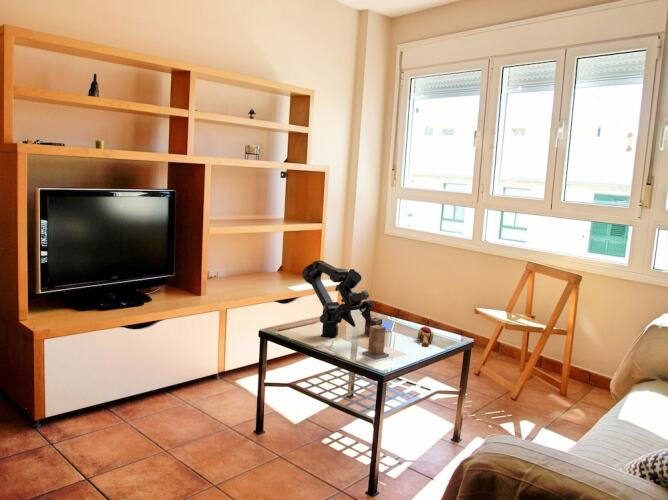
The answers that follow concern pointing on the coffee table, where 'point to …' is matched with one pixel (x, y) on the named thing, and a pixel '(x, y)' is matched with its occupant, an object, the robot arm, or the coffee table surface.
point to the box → (372, 324)
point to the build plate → (386, 355)
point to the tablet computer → (388, 325)
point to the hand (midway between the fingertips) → (362, 325)
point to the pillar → (376, 340)
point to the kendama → (425, 336)
